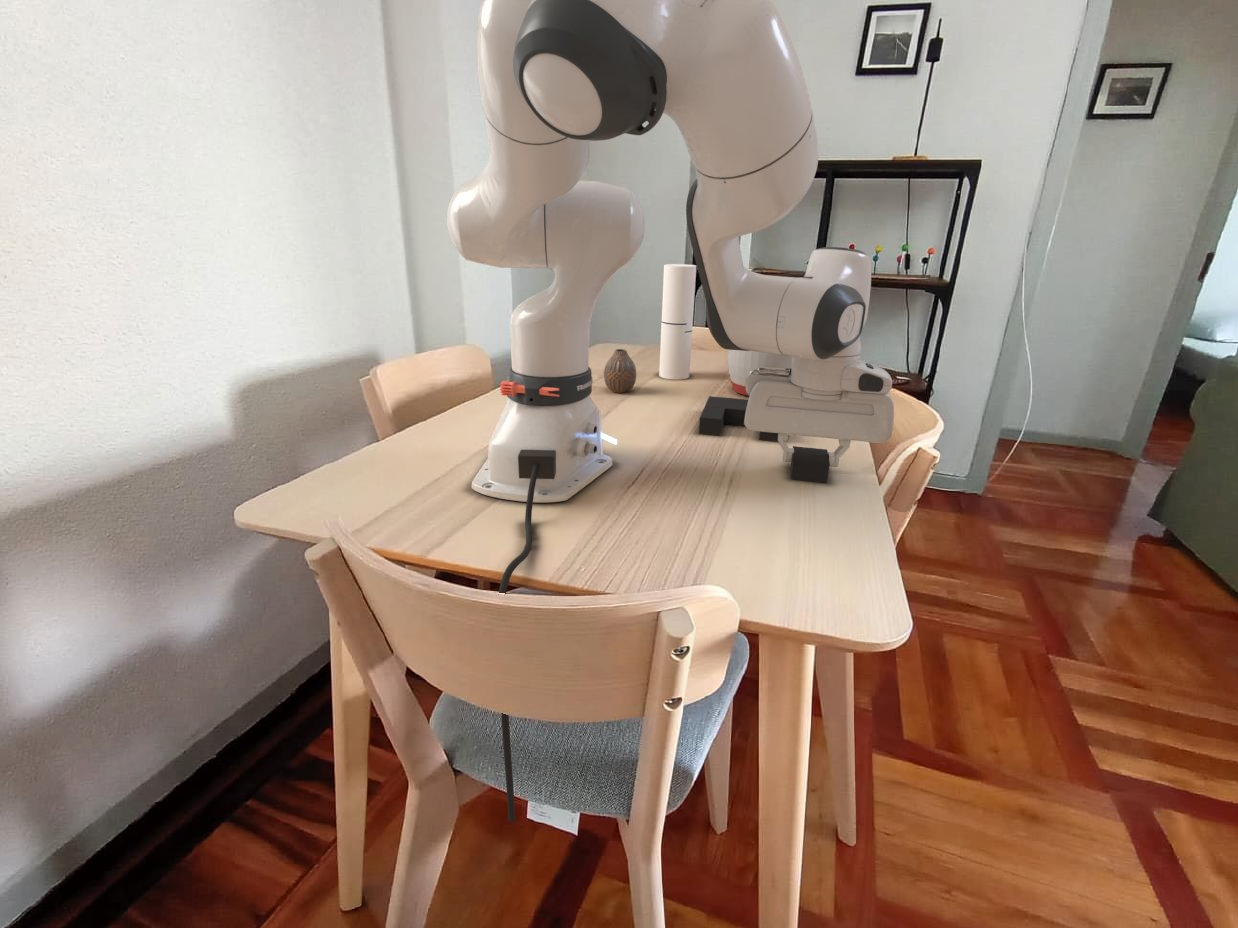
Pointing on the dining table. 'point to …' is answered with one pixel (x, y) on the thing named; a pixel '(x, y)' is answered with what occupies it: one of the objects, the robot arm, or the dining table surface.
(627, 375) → the vase
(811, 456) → the small block
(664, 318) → the cylindrical container
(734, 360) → the citrus juicer
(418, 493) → the dining table surface
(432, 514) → the dining table surface
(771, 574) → the dining table surface
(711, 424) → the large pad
